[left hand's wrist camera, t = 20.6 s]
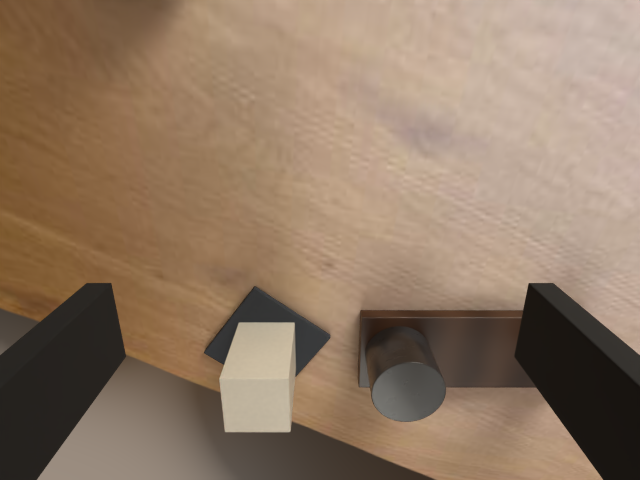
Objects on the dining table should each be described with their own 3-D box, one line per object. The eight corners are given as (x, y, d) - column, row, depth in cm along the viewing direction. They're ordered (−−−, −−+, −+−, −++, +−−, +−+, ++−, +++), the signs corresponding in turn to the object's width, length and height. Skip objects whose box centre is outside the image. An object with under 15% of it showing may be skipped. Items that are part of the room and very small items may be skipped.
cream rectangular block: (242, 368, 45) (224, 432, 37) (238, 322, 43) (219, 378, 35) (296, 368, 45) (290, 432, 37) (294, 322, 43) (288, 378, 35)
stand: (357, 378, 46) (365, 438, 39) (360, 310, 43) (369, 359, 35) (566, 378, 46) (616, 438, 38) (584, 310, 43) (643, 360, 35)
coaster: (205, 349, 45) (203, 353, 45) (254, 285, 42) (253, 288, 42) (278, 393, 47) (277, 396, 47) (330, 334, 44) (330, 337, 44)
